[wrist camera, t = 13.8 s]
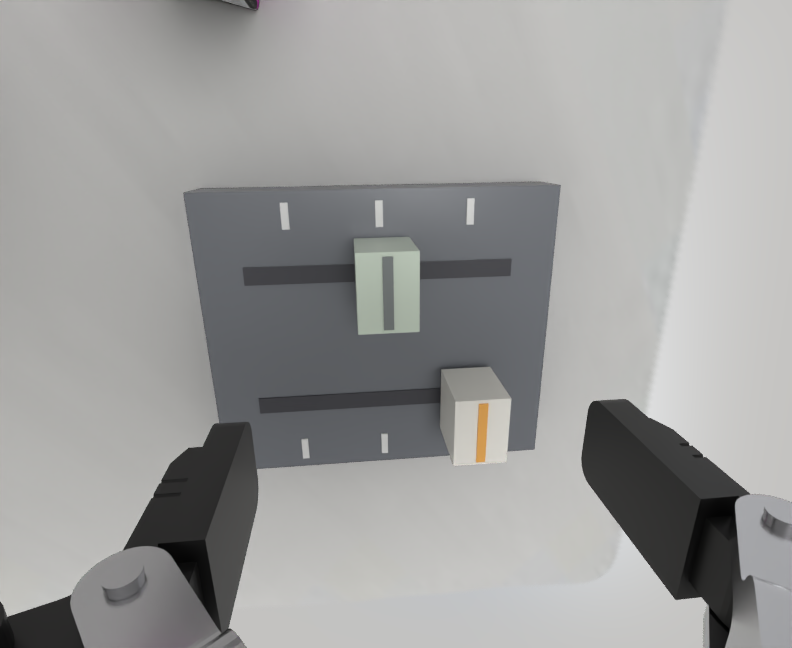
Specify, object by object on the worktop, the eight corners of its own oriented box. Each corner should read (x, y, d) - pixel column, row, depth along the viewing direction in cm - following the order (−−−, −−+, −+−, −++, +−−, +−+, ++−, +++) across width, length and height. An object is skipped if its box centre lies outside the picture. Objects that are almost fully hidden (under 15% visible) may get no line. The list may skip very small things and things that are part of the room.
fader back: (440, 427, 30) (453, 467, 26) (441, 369, 29) (455, 402, 25) (486, 424, 31) (507, 463, 27) (490, 366, 29) (511, 399, 25)
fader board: (237, 443, 33) (226, 471, 30) (199, 188, 27) (182, 192, 25) (519, 425, 35) (534, 450, 32) (539, 181, 29) (561, 184, 26)
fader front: (356, 309, 27) (358, 335, 23) (353, 238, 26) (354, 253, 22) (409, 307, 27) (419, 332, 24) (409, 236, 26) (420, 251, 22)
